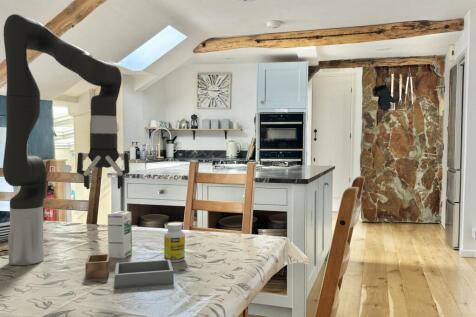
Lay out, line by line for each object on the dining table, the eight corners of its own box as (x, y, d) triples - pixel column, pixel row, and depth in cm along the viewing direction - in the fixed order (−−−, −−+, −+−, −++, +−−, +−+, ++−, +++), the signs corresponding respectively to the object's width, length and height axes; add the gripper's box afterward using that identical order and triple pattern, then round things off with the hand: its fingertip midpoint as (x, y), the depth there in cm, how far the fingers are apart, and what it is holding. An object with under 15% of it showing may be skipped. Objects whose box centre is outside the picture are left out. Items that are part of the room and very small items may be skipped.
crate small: (85, 279, 114) (85, 263, 113) (88, 270, 122) (88, 254, 122) (108, 277, 115) (108, 261, 115) (110, 268, 123) (109, 253, 123)
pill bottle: (165, 263, 129) (165, 226, 128) (163, 257, 135) (163, 222, 134) (186, 262, 130) (186, 225, 130) (183, 256, 137) (183, 221, 136)
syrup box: (124, 258, 134) (124, 214, 133) (107, 257, 135) (107, 213, 134) (132, 254, 139) (132, 211, 139) (116, 253, 141) (115, 210, 140)
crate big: (114, 288, 107) (114, 275, 106) (116, 275, 117) (116, 262, 117) (173, 283, 110) (173, 270, 110) (169, 271, 121) (169, 259, 121)
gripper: (75, 131, 114) (75, 190, 114) (128, 132, 117) (128, 190, 117) (79, 132, 121) (79, 187, 122) (130, 132, 124) (129, 187, 125)
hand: (103, 188), depth 119 cm, fingers open, 8 cm apart
